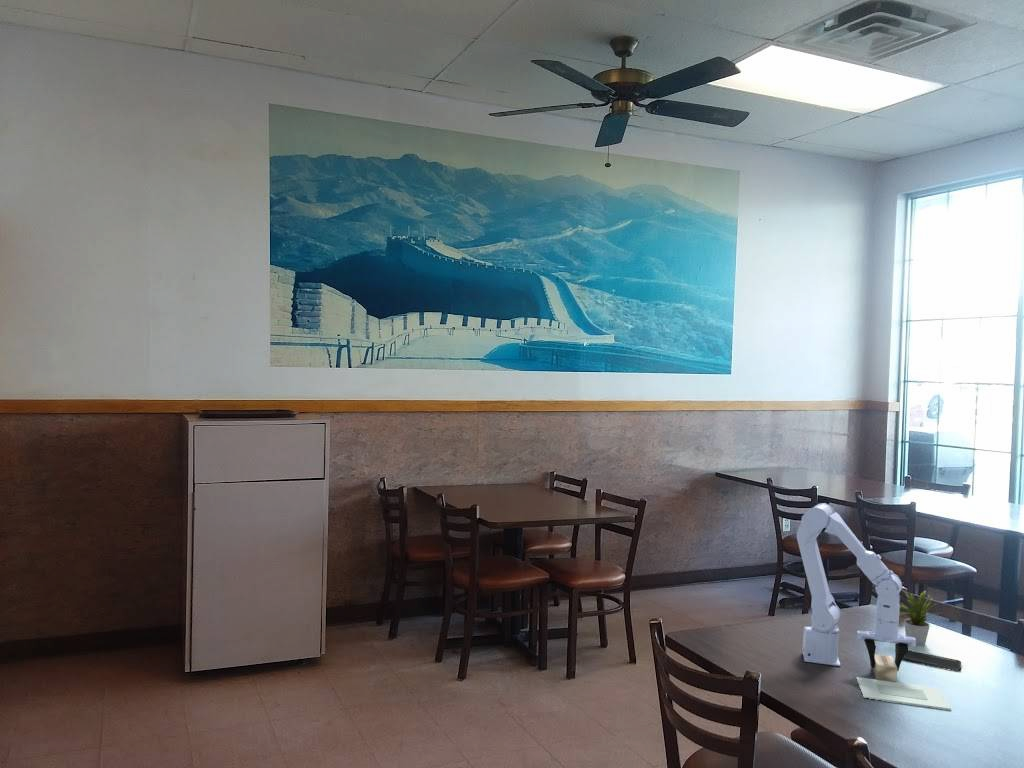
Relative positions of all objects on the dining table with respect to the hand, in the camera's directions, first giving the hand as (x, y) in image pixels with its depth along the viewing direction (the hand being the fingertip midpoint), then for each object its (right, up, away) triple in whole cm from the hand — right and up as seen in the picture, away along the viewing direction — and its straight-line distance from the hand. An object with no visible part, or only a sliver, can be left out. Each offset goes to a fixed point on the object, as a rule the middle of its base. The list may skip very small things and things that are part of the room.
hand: (884, 668), depth 221 cm
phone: (+18, -3, +11) cm, 21 cm away
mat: (-2, -2, -13) cm, 13 cm away
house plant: (+22, -2, +27) cm, 35 cm away
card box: (0, -2, 0) cm, 2 cm away
